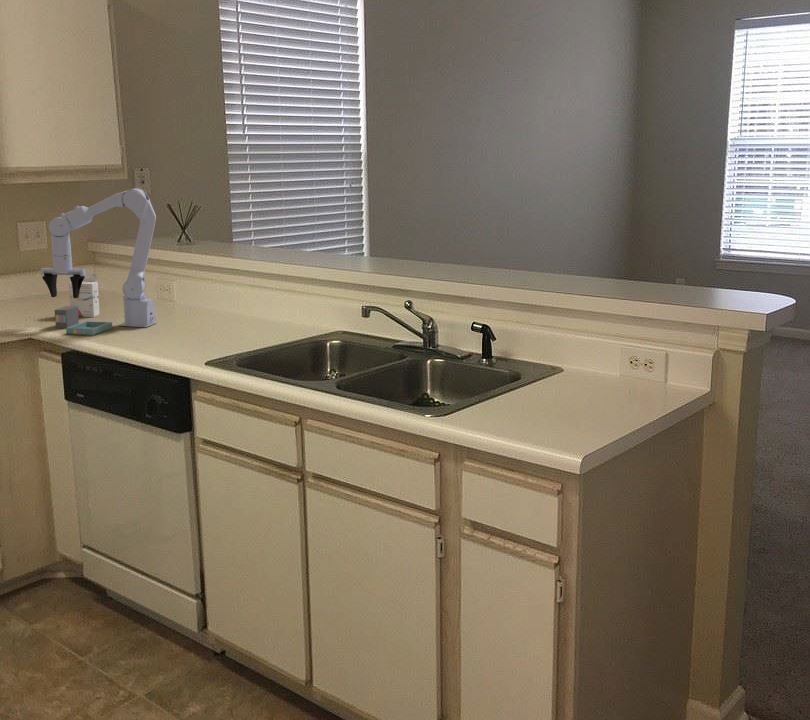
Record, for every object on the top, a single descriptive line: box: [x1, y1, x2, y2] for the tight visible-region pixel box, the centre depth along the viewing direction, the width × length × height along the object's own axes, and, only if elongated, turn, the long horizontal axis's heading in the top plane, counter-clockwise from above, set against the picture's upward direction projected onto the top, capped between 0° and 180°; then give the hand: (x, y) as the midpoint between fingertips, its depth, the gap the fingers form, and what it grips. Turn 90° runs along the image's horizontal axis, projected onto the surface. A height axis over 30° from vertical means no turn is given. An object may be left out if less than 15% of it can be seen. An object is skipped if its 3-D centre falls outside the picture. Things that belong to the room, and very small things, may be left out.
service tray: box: [65, 320, 113, 337], centre depth 288 cm, size 9×12×2 cm
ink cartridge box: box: [68, 272, 100, 318], centre depth 312 cm, size 9×5×15 cm, turn 84°
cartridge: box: [54, 305, 80, 330], centre depth 295 cm, size 4×7×6 cm, turn 169°
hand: (65, 297), depth 294 cm, fingers open, 7 cm apart
